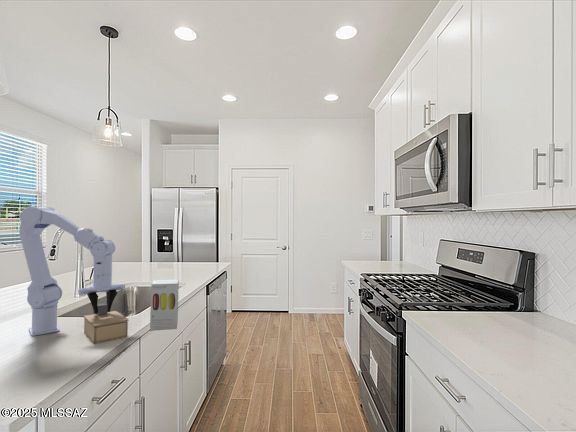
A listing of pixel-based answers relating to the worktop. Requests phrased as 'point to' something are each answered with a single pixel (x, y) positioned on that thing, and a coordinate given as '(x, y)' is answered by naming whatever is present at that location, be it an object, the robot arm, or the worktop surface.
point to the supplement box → (164, 305)
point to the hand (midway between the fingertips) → (101, 312)
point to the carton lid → (105, 317)
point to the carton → (105, 331)
